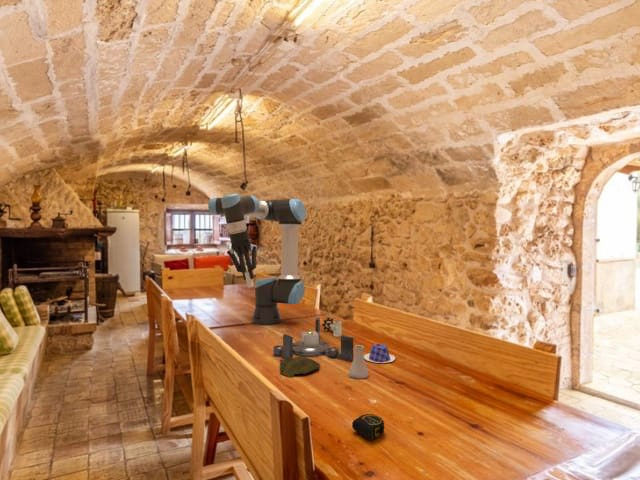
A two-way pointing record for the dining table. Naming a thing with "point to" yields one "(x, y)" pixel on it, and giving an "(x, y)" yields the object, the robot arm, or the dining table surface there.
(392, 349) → the dining table surface
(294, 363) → the pottery fragment
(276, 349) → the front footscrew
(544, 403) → the dining table surface
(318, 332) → the tribrach
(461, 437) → the dining table surface
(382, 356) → the pudding
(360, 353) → the flask
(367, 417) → the tape measure
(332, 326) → the valve
